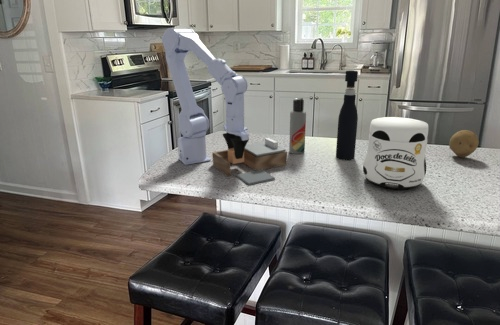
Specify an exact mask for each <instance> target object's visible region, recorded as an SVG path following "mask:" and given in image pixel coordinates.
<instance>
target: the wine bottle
mask: <svg viewBox="0 0 500 325" xmlns="http://www.w3.org/2000/svg"><path fill="white" fill-rule="evenodd" d="M358 72H359V71H357V70H346V71H345V77H344V79H345V80H344V82H346V88H345V93H344V95H343V104H342V106H341V108H340V110H339V115H338V118H337V119H338V121H337V135H336V136H337V137H336V150H335V158H336V159H338V160H341V161H353V160H354V159H355V156H356V145H357V144H356V142H357V131H358V121H359V114H358V109H357V106H356V96H357V95H356V88H355V87H356V86H355V84H356V82H358V75H359V74H358Z"/></svg>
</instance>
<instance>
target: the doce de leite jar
mask: <svg viewBox="0 0 500 325" xmlns="http://www.w3.org/2000/svg"><path fill="white" fill-rule="evenodd" d="M428 135H429V124H428V123H427V122H425V121H423V120H419V119H414V118H408V117H401V116H399V117H398V116H385V117H383V116H382V117H377V118H374V119H372V120H371V121H370V125H369V134H368V144H367V150H366V153H365V156H364V159H363V162H362V172H363V176H364V177H365V179H366V180H368V181H369V182H370V183H372V184H374V185H377V186H379V187H383V188H388V189H397V190H403V189H406V190H407V189H411V188H415V187H417V186H420V185H421V184H422V183H423V181H424V179H425V177H426V173H427V161H426V150H427V145H428Z"/></svg>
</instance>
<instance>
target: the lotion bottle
mask: <svg viewBox="0 0 500 325" xmlns="http://www.w3.org/2000/svg"><path fill="white" fill-rule="evenodd" d="M304 105H305V100H304V98H303V97H301V98H294V99H293V100H292V111H290V112H289V114H290V115H289V146H288V148H289V149H288V150H289V153H291V154H296V155H299V154H303V153H304V152H305V150H306V149H305V147H306V123H307V112H306V111H305V110H304V108H305V106H304Z"/></svg>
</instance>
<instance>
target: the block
mask: <svg viewBox="0 0 500 325" xmlns="http://www.w3.org/2000/svg"><path fill="white" fill-rule="evenodd" d="M227 150H228V161H230V162H231V163H230V164H232V165H237V164H240V163H243V162H244V153H243V157H242V158H240V159H236V157H235V152H234V148H230V149H228V148H227Z"/></svg>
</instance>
